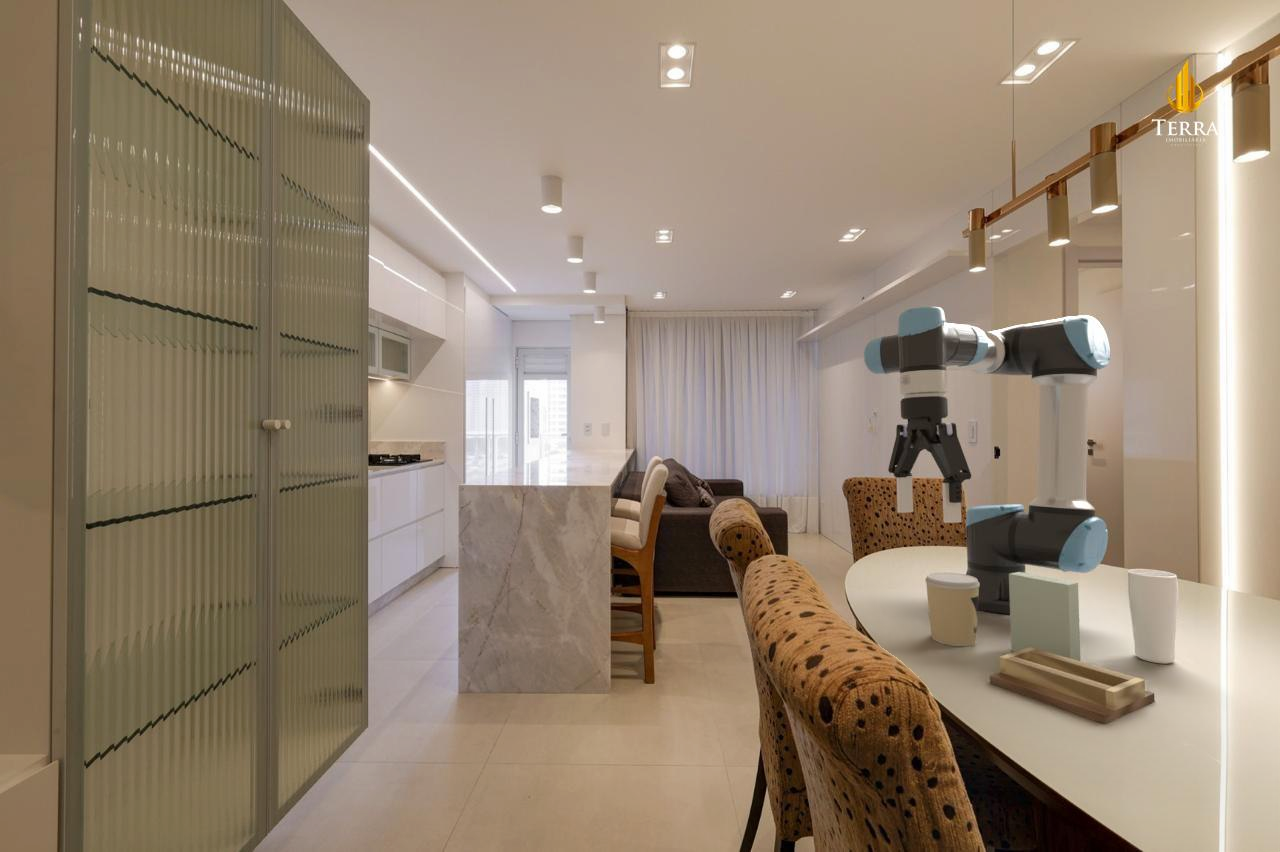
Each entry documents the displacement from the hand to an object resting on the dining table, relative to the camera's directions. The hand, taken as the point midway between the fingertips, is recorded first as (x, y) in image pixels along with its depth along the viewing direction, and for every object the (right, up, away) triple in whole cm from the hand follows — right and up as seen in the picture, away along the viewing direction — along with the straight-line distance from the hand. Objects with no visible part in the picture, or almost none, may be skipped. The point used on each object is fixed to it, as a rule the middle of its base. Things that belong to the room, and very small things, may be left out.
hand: (927, 517), depth 107 cm
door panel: (+21, -25, +1) cm, 33 cm away
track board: (+15, -25, -14) cm, 32 cm away
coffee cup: (+10, -26, +11) cm, 30 cm away
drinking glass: (+39, -25, -1) cm, 46 cm away
